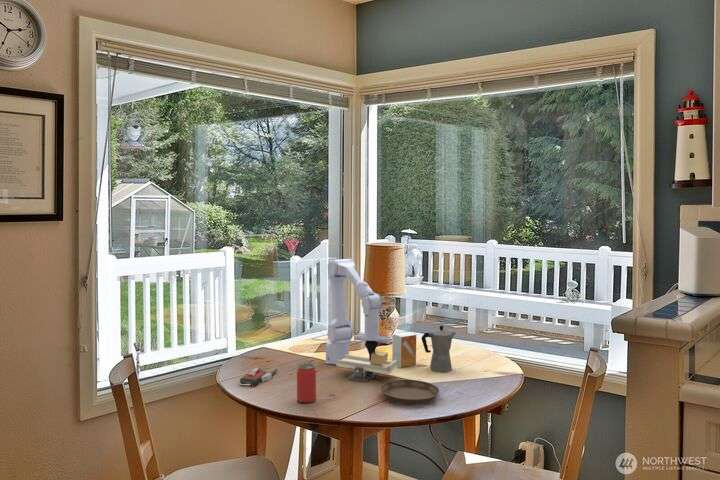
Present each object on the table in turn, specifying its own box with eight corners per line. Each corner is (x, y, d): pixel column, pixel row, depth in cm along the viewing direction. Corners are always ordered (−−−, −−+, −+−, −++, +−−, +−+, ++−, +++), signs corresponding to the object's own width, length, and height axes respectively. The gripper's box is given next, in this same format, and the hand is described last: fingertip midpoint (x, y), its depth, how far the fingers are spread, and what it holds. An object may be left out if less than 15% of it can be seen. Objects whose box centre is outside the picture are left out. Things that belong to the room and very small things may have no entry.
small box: (401, 368, 246) (401, 336, 245) (391, 364, 252) (391, 333, 251) (416, 365, 251) (416, 334, 250) (407, 361, 256) (407, 331, 255)
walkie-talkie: (259, 389, 221) (279, 373, 241) (259, 377, 221) (279, 362, 240) (237, 387, 223) (258, 371, 243) (237, 375, 223) (258, 360, 242)
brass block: (370, 365, 232) (371, 353, 232) (374, 362, 237) (376, 350, 236) (382, 368, 230) (383, 356, 230) (386, 365, 235) (388, 352, 234)
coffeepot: (449, 364, 252) (450, 322, 250) (460, 370, 243) (461, 326, 241) (416, 368, 246) (416, 324, 245) (426, 374, 237) (427, 329, 236)
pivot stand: (347, 379, 231) (347, 368, 231) (361, 369, 245) (361, 358, 244) (366, 382, 228) (366, 370, 228) (380, 371, 242) (380, 360, 241)
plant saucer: (446, 392, 217) (446, 383, 217) (428, 411, 198) (429, 401, 198) (392, 385, 225) (392, 376, 225) (371, 402, 206) (371, 393, 206)
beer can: (297, 397, 211) (296, 363, 210) (316, 396, 211) (315, 363, 211) (296, 403, 204) (296, 369, 203) (316, 403, 205) (316, 368, 204)
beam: (336, 366, 236) (336, 358, 235) (345, 360, 244) (345, 352, 244) (389, 374, 227) (389, 366, 227) (396, 368, 236) (397, 360, 235)
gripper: (350, 326, 233) (350, 360, 234) (385, 329, 227) (385, 364, 228) (357, 322, 239) (357, 356, 240) (392, 325, 234) (391, 359, 235)
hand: (371, 359), depth 234 cm, fingers closed, pressing on brass block
